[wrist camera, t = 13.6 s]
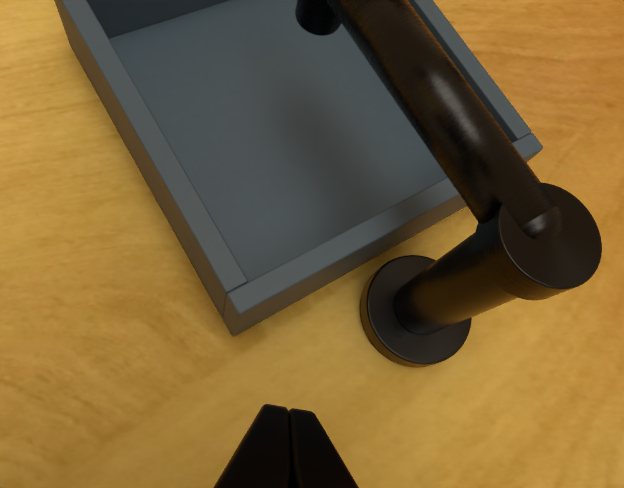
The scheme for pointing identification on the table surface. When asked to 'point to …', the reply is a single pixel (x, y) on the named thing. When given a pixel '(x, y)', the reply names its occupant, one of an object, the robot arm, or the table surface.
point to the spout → (470, 151)
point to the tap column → (427, 304)
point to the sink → (270, 139)
